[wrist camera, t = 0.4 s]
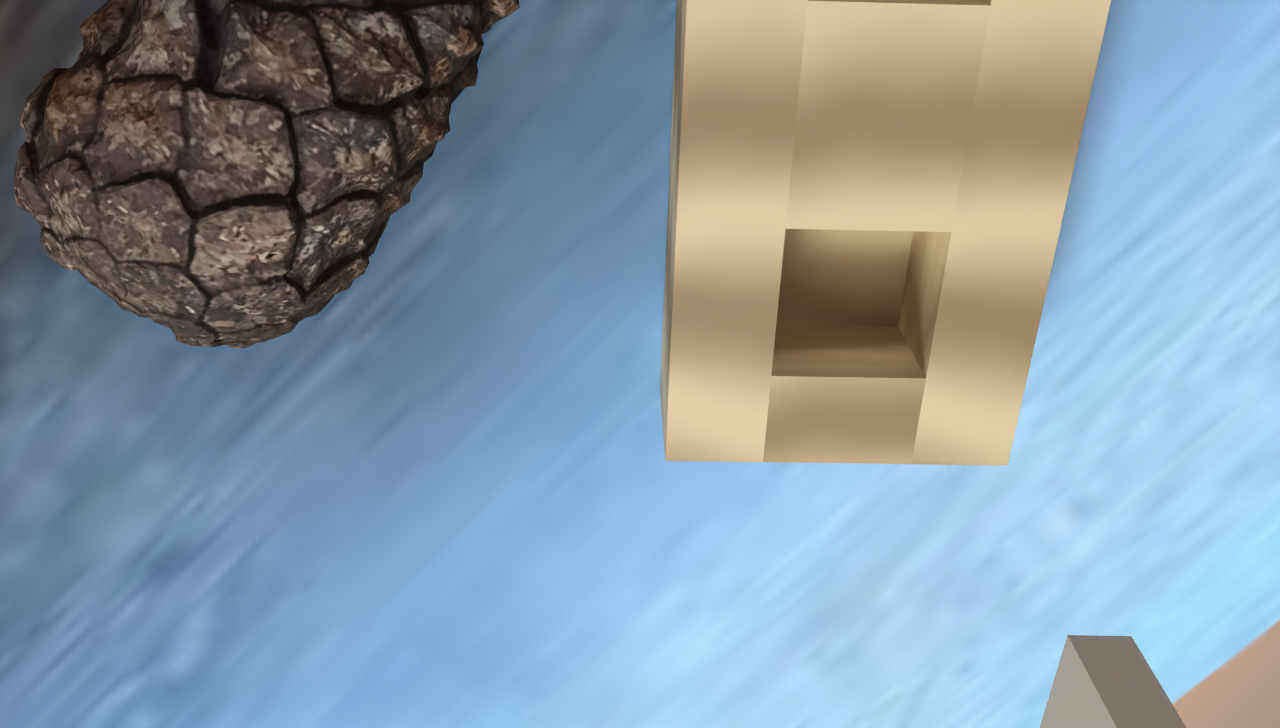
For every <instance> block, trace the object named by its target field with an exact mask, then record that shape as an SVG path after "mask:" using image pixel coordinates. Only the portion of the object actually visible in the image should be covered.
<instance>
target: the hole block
mask: <svg viewBox="0 0 1280 728" xmlns="http://www.w3.org/2000/svg"><path fill="white" fill-rule="evenodd" d="M1110 3H1111V0H677V10H676V33H675V56H674V80H673V103H672V127H671V150H670V174H669V197H668V221H667V244H666V268H665V291H664V314H663V338H662V361H661V385H660V394H661V408H662V421H663V435H664V449H665V461H728V462H800V463H873V464H945V465H1008V461H1009V456H1010V452H1011V447H1012V443H1013V438H1014V434H1015V429H1016V425H1017V420H1018V416H1019V411H1020V407H1021V403H1022V398H1023V394H1024V389H1025V385H1026V380H1027V376H1028V371H1029V367H1030V362H1031V358H1032V353H1033V349H1034V344H1035V340H1036V335H1037V331H1038V326H1039V322H1040V317H1041V313H1042V308H1043V304H1044V299H1045V295H1046V290H1047V286H1048V281H1049V277H1050V272H1051V268H1052V263H1053V259H1054V254H1055V250H1056V246H1057V241H1058V237H1059V232H1060V228H1061V223H1062V219H1063V214H1064V210H1065V205H1066V201H1067V196H1068V192H1069V187H1070V183H1071V178H1072V174H1073V169H1074V165H1075V160H1076V156H1077V151H1078V147H1079V142H1080V138H1081V133H1082V129H1083V124H1084V120H1085V115H1086V111H1087V106H1088V102H1089V97H1090V93H1091V89H1092V84H1093V80H1094V75H1095V71H1096V66H1097V62H1098V57H1099V53H1100V48H1101V44H1102V39H1103V35H1104V30H1105V26H1106V21H1107V17H1108V12H1109V8H1110Z"/></svg>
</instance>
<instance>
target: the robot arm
mask: <svg viewBox="0 0 1280 728" xmlns="http://www.w3.org/2000/svg"><path fill="white" fill-rule="evenodd" d="M1040 728H1186V727H1185V725H1184V723H1183V722H1182V720H1181V718H1180V717H1179V715H1178V713H1177V712H1176V710H1175V708H1174V707H1173V705H1172V703H1171V702H1170V700H1169V698H1168V697H1167V695H1166V693H1165V692H1164V690H1163V688H1162V687H1161V685H1160V683H1159V682H1158V680H1157V678H1156V677H1155V675H1154V673H1153V672H1152V670H1151V668H1150V667H1149V665H1148V663H1147V662H1146V660H1145V658H1144V657H1143V655H1142V653H1141V652H1140V650H1139V649H1138V647H1137V645H1136V644H1135V642H1134V640H1133V639H1132V637H1131V636H1079V635H1068V636H1067V639H1066V643H1065V646H1064V649H1063V653H1062V656H1061V659H1060V662H1059V666H1058V669H1057V672H1056V676H1055V679H1054V682H1053V686H1052V689H1051V692H1050V695H1049V699H1048V702H1047V705H1046V709H1045V712H1044V715H1043V719H1042V722H1041V725H1040Z"/></svg>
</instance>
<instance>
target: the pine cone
mask: <svg viewBox="0 0 1280 728" xmlns="http://www.w3.org/2000/svg"><path fill="white" fill-rule="evenodd" d="M518 8H519V0H109V1H108V2H107V3H106V4H104V5H103V6H102V7H101V8H100V9H99V10H97V11H96V12H95V13H94V14H93V15H92V16H91V17H90V18H88V19H87V20H85V21H84V22H83V23H82V24H81V26H80V28H79V30H80V32H81V34H82V36H83V51H82V52H80V55H79V58H78V61H77V62H76V63H75V64H74V65H73V66H72V67H71V68H69V69H65V68H55V69H53V70H52V71H50V72H49V73H48V74H46V75H45V76H44V78H43V80H42V82H41V83H40V85H39V87H38V88H37V89H36V90H35V91H34V92H33V93H32V94H31V95H30V96H29V97H28V98H27V101H26V103H25V106H24V108H23V110H22V114H21V122H20V126H21V127H23V128H24V129H25V130H26V133H27V134H26V142H25V143H24V144H23V145H22V146H21V147H20V150H19V154H18V158H17V162H16V167H15V178H14V186H15V198H16V205H17V206H19V207H20V208H21V209H22V210H24V211H27V212H30V213H31V214H32V215H33V216H34V217H35V218H36V220H37V221H38V222H39V224H40V225H41V227H42V228H41V237H40V244H41V245H42V247H43V249H44V250H45V252H46V253H47V255H48V256H49V257H50V258H51V259H53V260H54V261H56V262H57V263H58V264H59V265H60V266H61V267H62V268H65V269H68V270H78V271H79V272H80V273H81V274H82V275H83V276H84V277H85V278H86V279H87V280H88V281H89V282H90V283H91V284H92V285H94V286H95V287H97V288H98V289H99V290H101V291H102V292H104V293H105V294H106V295H108V296H109V297H111V298H112V299H113V300H114V301H115V302H116V303H117V304H118V305H119V306H120V307H121V309H123V310H127V311H130V312H133V313H135V314H136V315H138V316H139V317H147V318H150V319H151V320H153V321H154V322H155V323H158V324H161V325H163V326H166V327H169V328H170V329H171V330H172V331H173V333H174V334H175V337H176V340H177V342H181V343H185V344H189V345H193V346H202V347H216V346H221V345H228V346H230V347H231V348H246V347H249V346H251V345H253V344H256V343H259V342H265V341H267V340H270V339H273V338H276V337H279V336H281V335H284V334H287V333H289V332H291V331H292V330H293V329H294V328H295V326H296V325H297V324H298V322H299V321H301V320H303V319H304V318H307V317H310V316H314V315H317V314H318V313H319V312H320V311H321V310H322V309H323V308H324V307H325V306H326V305H327V304H328V303H329V302H330V300H331V299H332V298H333V297H334V295H335V294H337V293H339V292H341V291H344V290H346V289H348V288H350V286H351V284H352V282H353V280H354V279H356V278H357V277H359V276H360V275H362V274H364V272H365V270H366V268H367V266H368V264H369V259H368V257H369V256H371V255H372V254H373V253H374V251H375V249H376V246H377V243H378V241H379V238H380V237H381V235H382V233H383V231H384V229H385V227H386V225H387V223H388V221H389V218H390V216H391V214H393V213H394V212H396V211H397V210H399V209H400V208H401V207H403V206H404V205H405V204H407V203H408V202H410V194H411V192H412V190H413V188H414V187H415V186H416V184H417V183H418V182H419V181H420V179H421V178H422V173H423V166H424V162H425V161H427V160H428V159H429V158H430V157H432V154H433V152H434V149H435V147H436V144H437V143H438V141H440V140H442V139H444V136H445V134H446V133H448V132H449V131H450V126H449V113H450V109H451V104H452V103H453V102H454V100H455V99H456V98H457V97H458V96H459V94H460V93H461V92H462V91H463V89H464V88H466V87H469V86H475V85H476V79H477V74H478V68H477V62H478V59H479V56H480V53H481V50H482V47H483V45H484V43H483V40H482V37H481V34H483V33H485V32H487V31H489V30H490V29H491V26H492V25H493V24H494V23H496V22H497V21H499V20H501V19H502V18H504V17H506V16H508V15H510V14H511V13H512V12H514V11H515V10H517V9H518Z"/></svg>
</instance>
